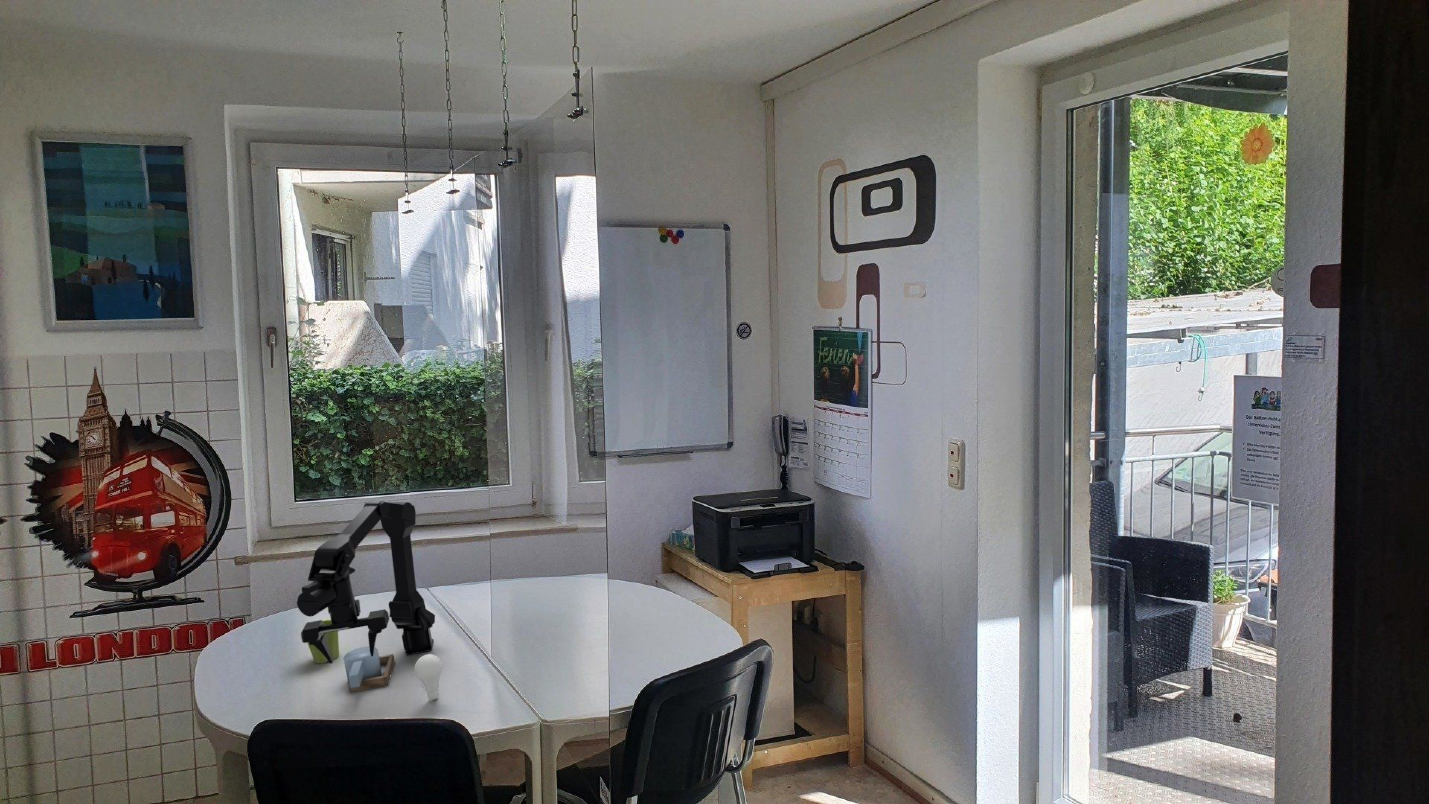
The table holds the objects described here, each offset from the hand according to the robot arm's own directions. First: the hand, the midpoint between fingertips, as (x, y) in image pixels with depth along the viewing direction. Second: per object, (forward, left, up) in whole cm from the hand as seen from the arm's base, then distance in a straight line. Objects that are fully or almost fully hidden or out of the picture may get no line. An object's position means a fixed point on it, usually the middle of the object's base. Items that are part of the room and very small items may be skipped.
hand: (352, 659), depth 227 cm
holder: (-2, -9, -9) cm, 14 cm away
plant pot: (+12, -25, -10) cm, 30 cm away
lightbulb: (-18, +9, -10) cm, 22 cm away
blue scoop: (0, -6, -10) cm, 11 cm away
